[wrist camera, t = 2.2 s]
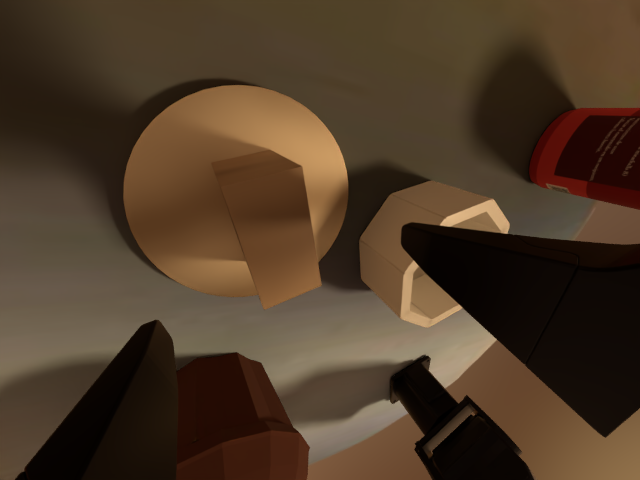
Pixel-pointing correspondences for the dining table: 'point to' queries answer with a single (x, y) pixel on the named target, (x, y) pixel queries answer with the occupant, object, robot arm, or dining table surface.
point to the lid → (237, 193)
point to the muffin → (234, 424)
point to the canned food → (591, 155)
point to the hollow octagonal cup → (394, 262)
